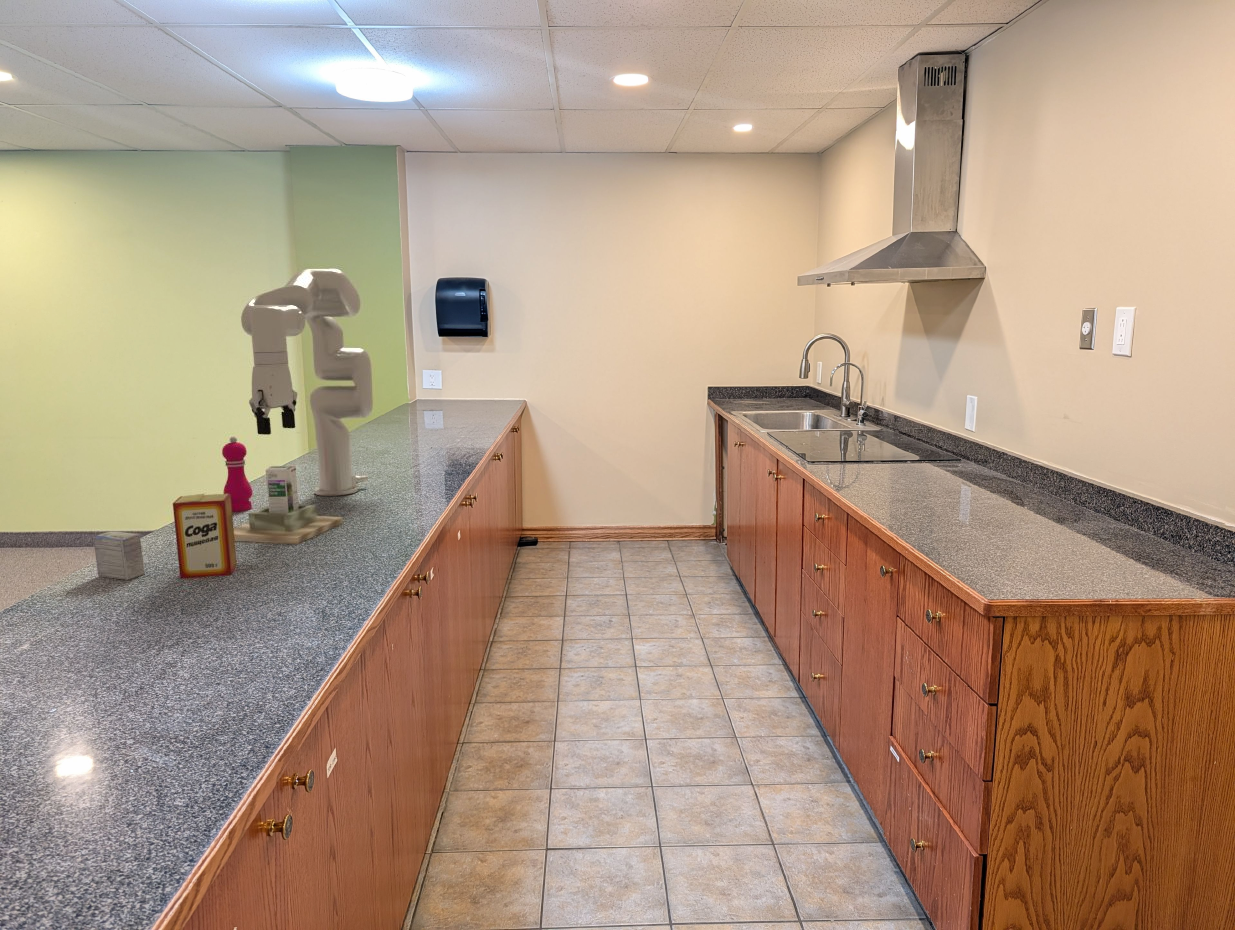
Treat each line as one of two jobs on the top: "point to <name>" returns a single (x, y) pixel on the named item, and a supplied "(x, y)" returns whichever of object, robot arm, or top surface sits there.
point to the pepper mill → (237, 476)
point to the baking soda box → (204, 535)
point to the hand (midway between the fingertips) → (277, 431)
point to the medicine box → (119, 555)
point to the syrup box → (282, 489)
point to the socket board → (285, 526)
